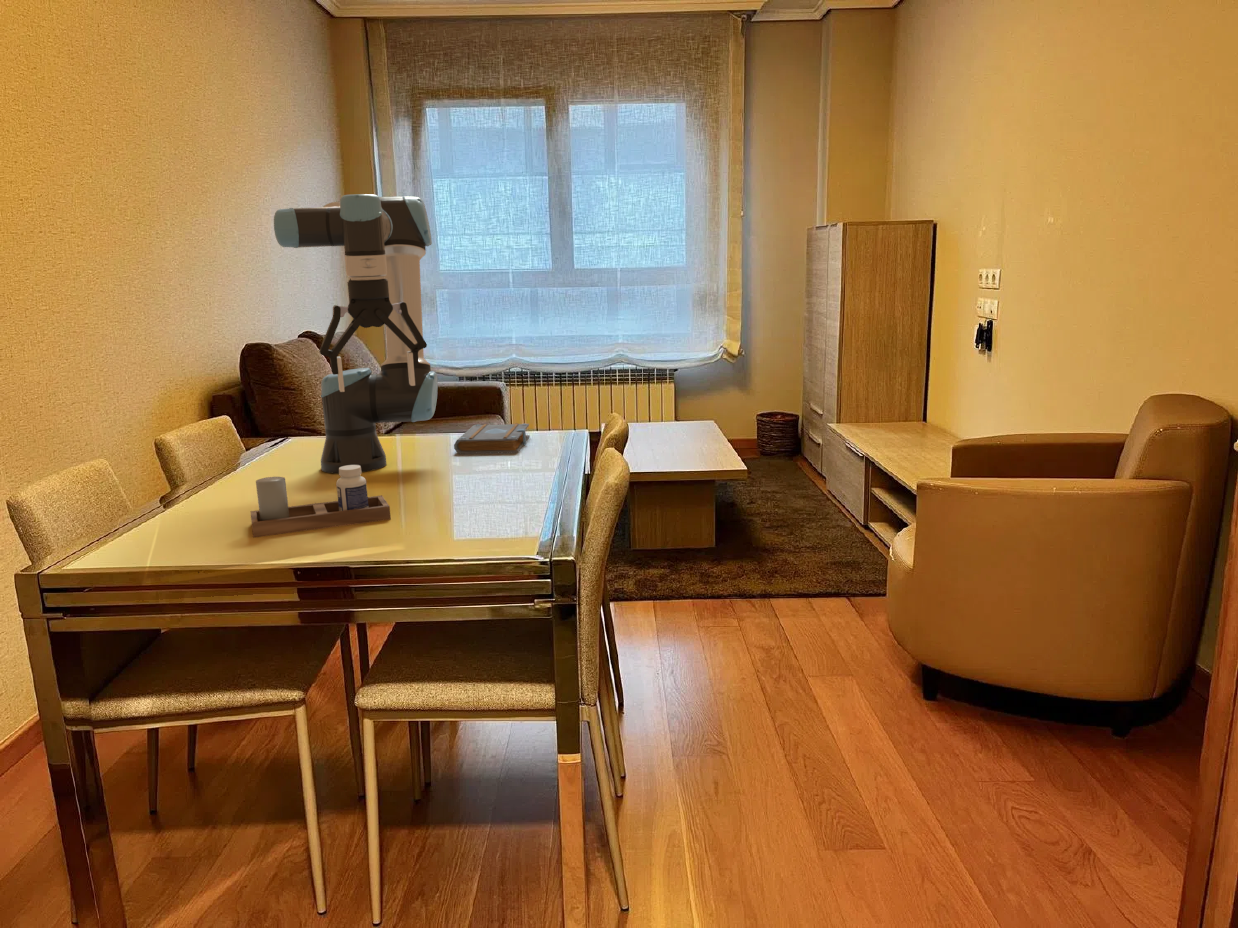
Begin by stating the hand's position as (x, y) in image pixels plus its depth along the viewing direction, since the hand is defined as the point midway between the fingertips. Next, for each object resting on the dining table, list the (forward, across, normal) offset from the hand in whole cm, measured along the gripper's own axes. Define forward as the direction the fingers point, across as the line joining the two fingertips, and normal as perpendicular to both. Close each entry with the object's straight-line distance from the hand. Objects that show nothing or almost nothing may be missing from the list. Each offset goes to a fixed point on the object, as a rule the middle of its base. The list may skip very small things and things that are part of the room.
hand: (377, 387), depth 181 cm
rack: (+23, -14, -12) cm, 30 cm away
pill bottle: (+22, -8, -12) cm, 27 cm away
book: (+26, +34, +47) cm, 64 cm away
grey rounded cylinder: (+22, -22, -12) cm, 33 cm away
